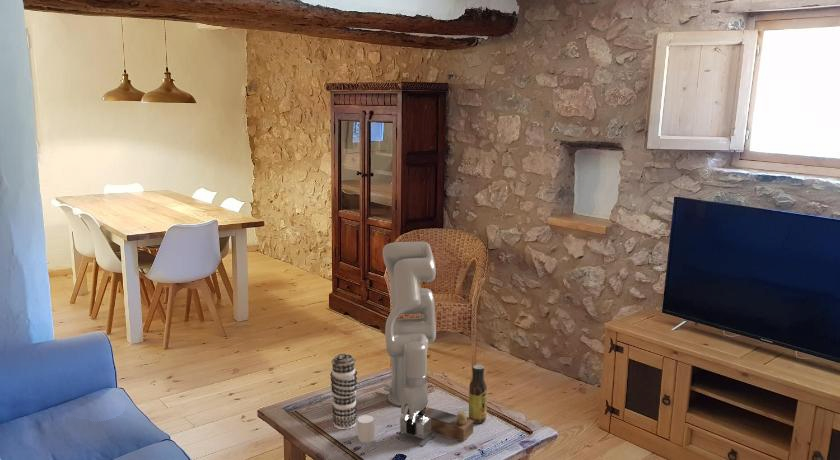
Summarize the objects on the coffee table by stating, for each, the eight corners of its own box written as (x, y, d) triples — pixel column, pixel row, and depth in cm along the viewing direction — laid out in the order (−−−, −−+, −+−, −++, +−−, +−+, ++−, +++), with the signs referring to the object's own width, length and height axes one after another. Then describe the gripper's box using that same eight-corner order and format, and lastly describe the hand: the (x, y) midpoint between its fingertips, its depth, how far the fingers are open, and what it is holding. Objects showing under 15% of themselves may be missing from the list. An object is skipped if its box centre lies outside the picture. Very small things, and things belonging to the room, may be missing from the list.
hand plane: (417, 427, 217) (417, 407, 216) (427, 418, 223) (427, 399, 222) (463, 441, 208) (463, 420, 207) (473, 432, 214) (473, 412, 213)
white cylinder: (368, 445, 206) (368, 426, 205) (351, 439, 210) (351, 420, 208) (380, 436, 212) (380, 417, 211) (364, 430, 216) (364, 411, 214)
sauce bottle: (485, 425, 219) (486, 371, 215) (467, 423, 220) (468, 370, 216) (487, 416, 225) (488, 364, 221) (469, 414, 226) (470, 362, 222)
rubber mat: (397, 438, 211) (397, 437, 210) (408, 429, 216) (408, 427, 216) (422, 446, 205) (422, 445, 205) (433, 437, 211) (433, 435, 211)
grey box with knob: (400, 431, 211) (400, 416, 209) (408, 425, 215) (408, 409, 214) (423, 438, 206) (423, 423, 205) (431, 432, 210) (431, 416, 209)
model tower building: (344, 414, 227) (342, 349, 221) (363, 421, 221) (362, 355, 216) (326, 425, 219) (323, 357, 214) (346, 433, 214) (344, 364, 209)
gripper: (418, 367, 216) (419, 416, 219) (391, 386, 201) (391, 438, 205) (437, 372, 212) (437, 422, 216) (411, 391, 198) (411, 444, 201)
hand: (415, 429), depth 210 cm, fingers closed on grey box with knob, 5 cm apart
